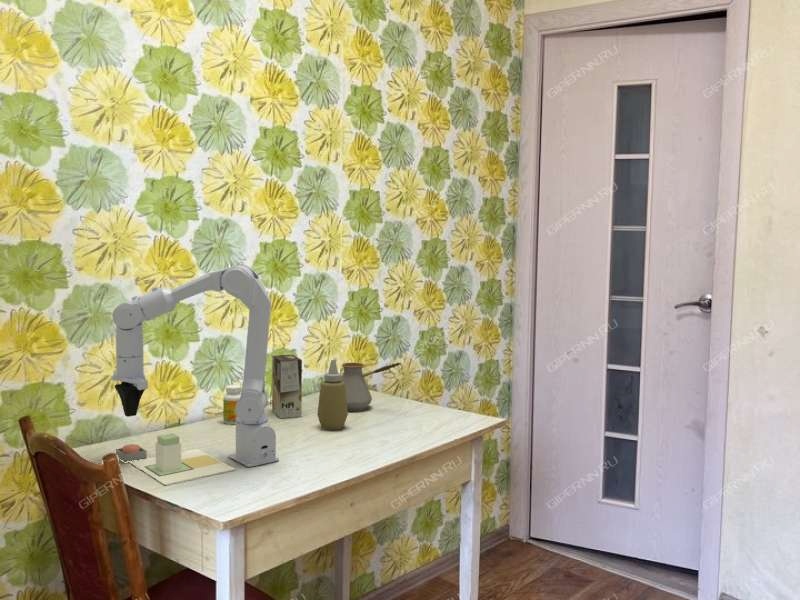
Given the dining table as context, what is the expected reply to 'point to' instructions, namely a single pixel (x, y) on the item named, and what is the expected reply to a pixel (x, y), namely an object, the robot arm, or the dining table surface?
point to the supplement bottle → (231, 403)
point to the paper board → (185, 467)
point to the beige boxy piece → (168, 452)
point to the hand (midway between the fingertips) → (130, 415)
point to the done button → (131, 448)
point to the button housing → (131, 455)
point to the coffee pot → (358, 385)
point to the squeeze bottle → (332, 400)
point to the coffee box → (286, 386)
